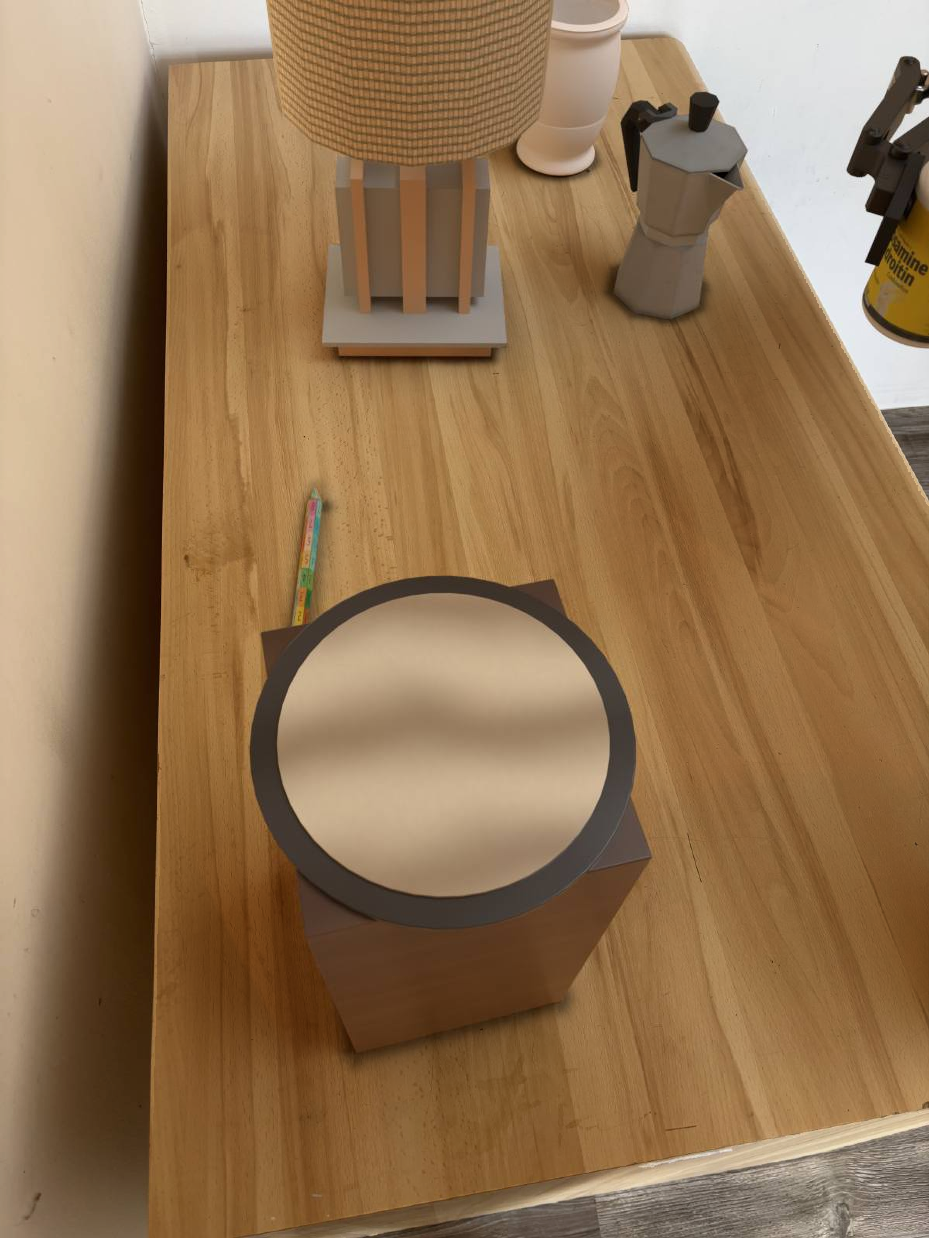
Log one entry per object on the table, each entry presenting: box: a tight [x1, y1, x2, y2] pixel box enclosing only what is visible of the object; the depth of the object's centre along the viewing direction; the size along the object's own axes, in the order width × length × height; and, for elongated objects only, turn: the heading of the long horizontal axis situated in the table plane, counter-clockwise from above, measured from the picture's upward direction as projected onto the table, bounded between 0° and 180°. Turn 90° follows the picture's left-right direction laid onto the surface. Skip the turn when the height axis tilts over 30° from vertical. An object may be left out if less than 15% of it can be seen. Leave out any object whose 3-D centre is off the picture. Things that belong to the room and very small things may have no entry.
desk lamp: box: [265, 0, 554, 357], centre depth 71 cm, size 20×20×35 cm
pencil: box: [291, 481, 323, 626], centre depth 69 cm, size 1×1×18 cm
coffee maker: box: [612, 91, 749, 320], centre depth 81 cm, size 15×9×18 cm, turn 32°
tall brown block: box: [248, 575, 653, 1054], centre depth 45 cm, size 14×14×27 cm
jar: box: [516, 0, 630, 177], centre depth 94 cm, size 11×10×15 cm
